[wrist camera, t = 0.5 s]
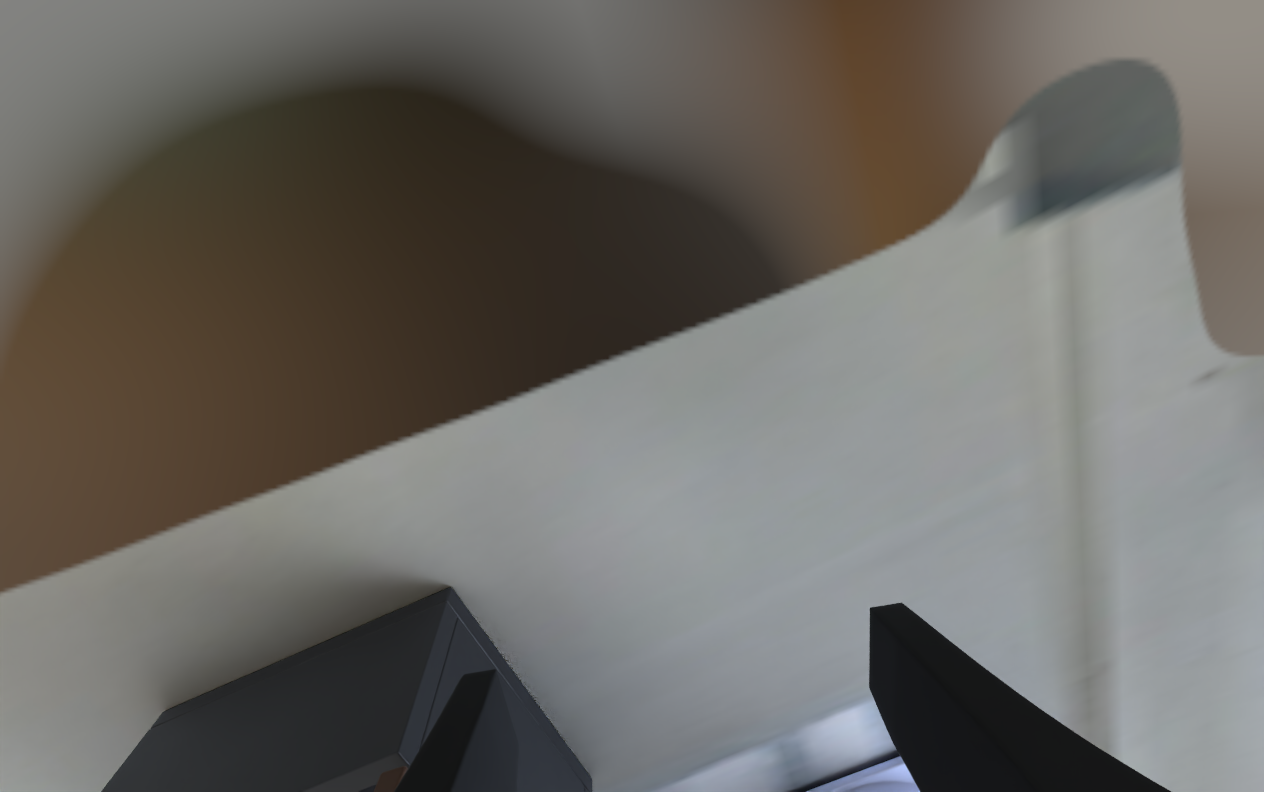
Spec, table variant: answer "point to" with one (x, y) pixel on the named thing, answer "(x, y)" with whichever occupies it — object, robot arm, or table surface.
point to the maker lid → (390, 779)
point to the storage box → (343, 714)
